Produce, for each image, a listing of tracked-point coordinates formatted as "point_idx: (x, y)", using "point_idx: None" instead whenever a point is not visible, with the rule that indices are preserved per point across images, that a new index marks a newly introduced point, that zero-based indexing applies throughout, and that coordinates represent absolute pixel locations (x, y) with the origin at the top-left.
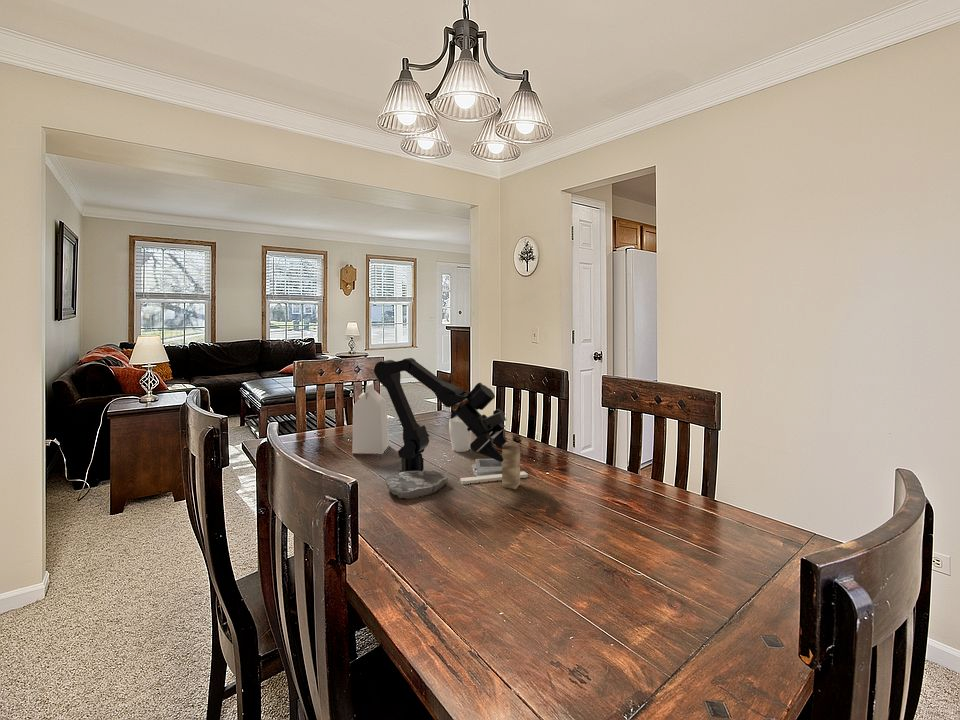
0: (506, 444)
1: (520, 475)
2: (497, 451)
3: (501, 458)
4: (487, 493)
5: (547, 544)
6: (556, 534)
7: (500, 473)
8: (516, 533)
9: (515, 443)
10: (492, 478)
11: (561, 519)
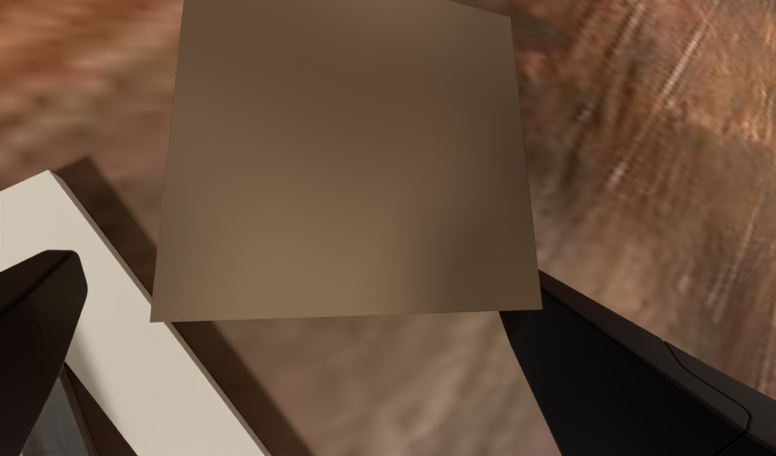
0: (414, 239)
1: (92, 225)
2: (632, 334)
3: (540, 276)
4: (467, 355)
5: (709, 49)
6: (659, 25)
7: (55, 423)
8: (705, 135)
9: (244, 46)
10: (243, 428)
11: (573, 3)
